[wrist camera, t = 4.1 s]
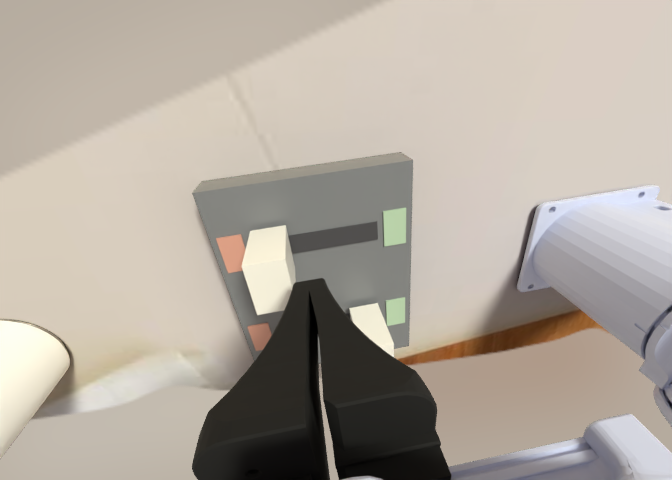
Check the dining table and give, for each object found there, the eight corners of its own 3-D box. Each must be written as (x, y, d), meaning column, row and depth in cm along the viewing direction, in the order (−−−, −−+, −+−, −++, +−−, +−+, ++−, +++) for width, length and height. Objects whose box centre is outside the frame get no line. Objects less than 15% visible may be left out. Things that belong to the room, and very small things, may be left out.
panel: (400, 152, 18) (413, 160, 16) (400, 327, 25) (409, 347, 24) (202, 181, 17) (191, 193, 15) (261, 354, 24) (259, 376, 23)
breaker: (377, 302, 20) (393, 343, 17) (379, 333, 22) (394, 375, 19) (349, 308, 20) (360, 349, 17) (352, 338, 22) (363, 381, 19)
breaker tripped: (285, 225, 17) (285, 258, 13) (295, 268, 18) (296, 307, 15) (250, 230, 16) (241, 266, 13) (262, 274, 18) (257, 315, 15)
